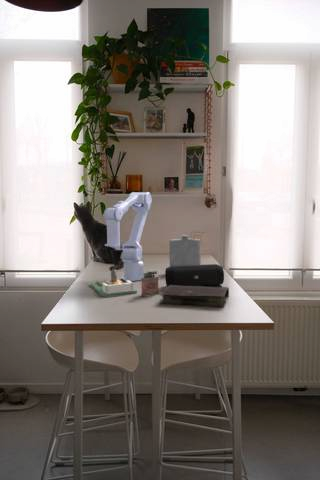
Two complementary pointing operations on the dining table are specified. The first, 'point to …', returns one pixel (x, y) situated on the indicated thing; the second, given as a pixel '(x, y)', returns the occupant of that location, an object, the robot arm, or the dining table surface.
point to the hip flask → (184, 251)
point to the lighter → (150, 284)
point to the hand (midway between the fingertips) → (113, 263)
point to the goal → (117, 287)
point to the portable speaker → (195, 275)
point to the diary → (195, 296)
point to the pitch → (98, 288)
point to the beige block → (113, 278)
